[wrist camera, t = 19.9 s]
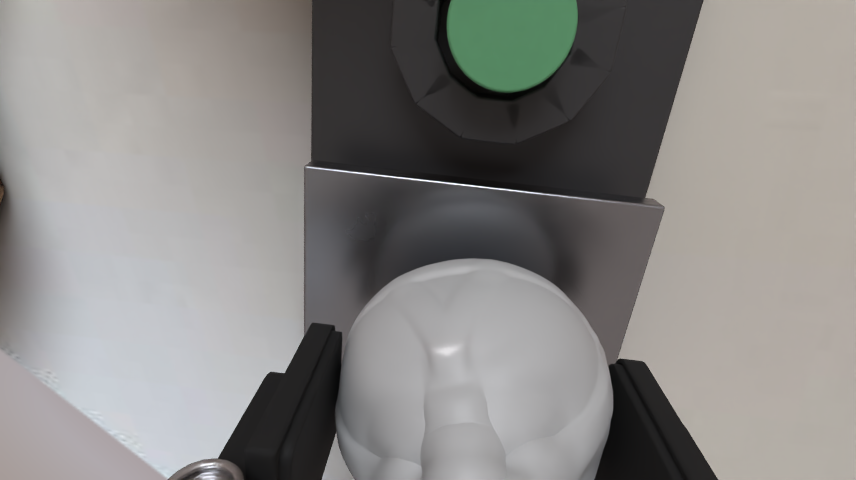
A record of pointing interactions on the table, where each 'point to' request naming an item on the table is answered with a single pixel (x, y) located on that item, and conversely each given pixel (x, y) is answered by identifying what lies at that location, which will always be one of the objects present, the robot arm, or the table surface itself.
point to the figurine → (472, 379)
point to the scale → (498, 96)
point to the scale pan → (469, 239)
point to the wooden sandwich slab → (1, 191)
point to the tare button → (510, 40)
